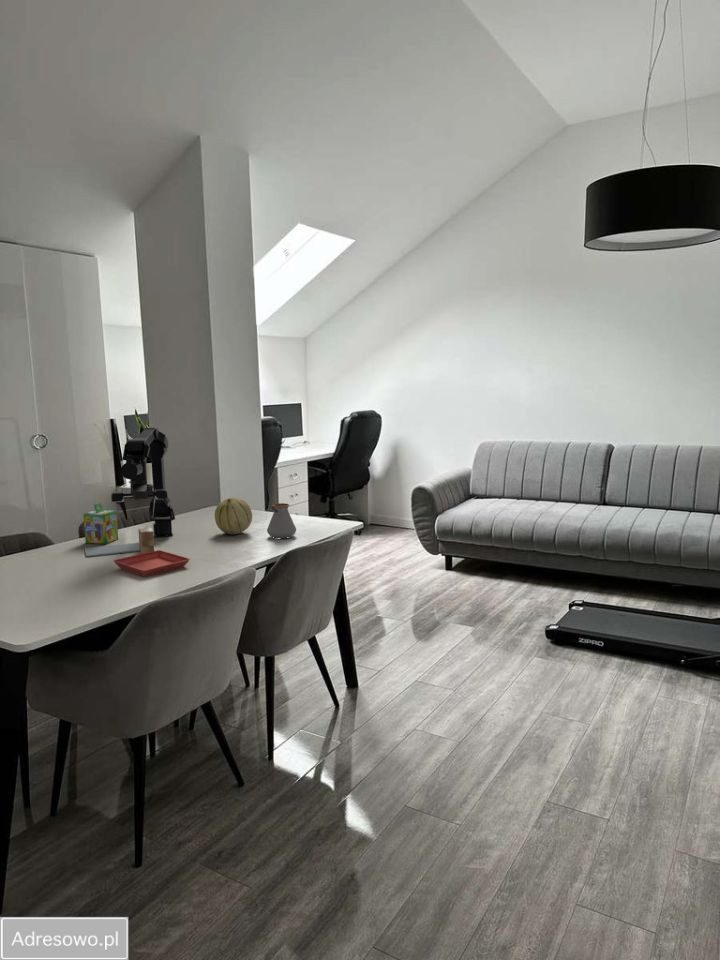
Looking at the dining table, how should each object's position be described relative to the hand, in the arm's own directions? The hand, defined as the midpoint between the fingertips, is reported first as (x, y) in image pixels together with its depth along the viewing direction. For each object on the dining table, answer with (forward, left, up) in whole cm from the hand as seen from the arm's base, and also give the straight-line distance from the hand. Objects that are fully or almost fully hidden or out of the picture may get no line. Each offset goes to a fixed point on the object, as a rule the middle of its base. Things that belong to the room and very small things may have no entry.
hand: (140, 519), depth 251 cm
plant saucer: (-1, +20, -13) cm, 24 cm away
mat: (+8, -10, -13) cm, 18 cm away
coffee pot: (-51, +1, -13) cm, 52 cm away
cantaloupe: (-38, -17, -13) cm, 43 cm away
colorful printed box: (+11, -27, -13) cm, 32 cm away
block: (-2, 0, -13) cm, 13 cm away
